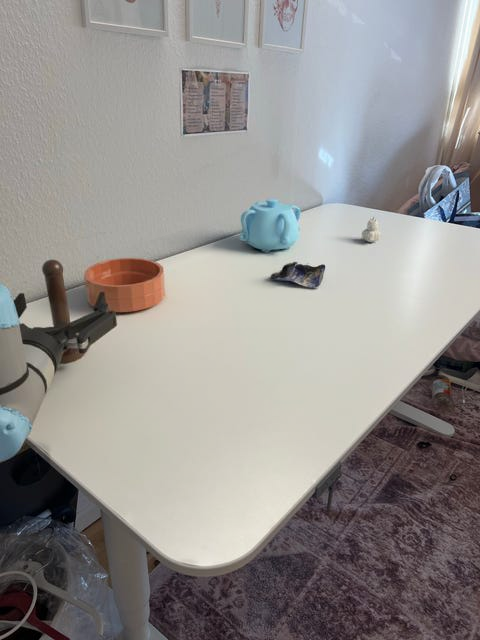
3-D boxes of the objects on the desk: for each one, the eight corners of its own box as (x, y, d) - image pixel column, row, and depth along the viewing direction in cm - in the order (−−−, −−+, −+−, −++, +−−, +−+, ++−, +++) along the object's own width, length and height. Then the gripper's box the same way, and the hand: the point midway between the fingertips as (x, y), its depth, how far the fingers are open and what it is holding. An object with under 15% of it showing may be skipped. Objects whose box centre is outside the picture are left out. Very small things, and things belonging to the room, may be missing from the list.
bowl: (75, 312, 99) (70, 283, 96) (104, 281, 114) (101, 255, 111) (153, 318, 98) (151, 289, 95) (172, 286, 112) (171, 260, 109)
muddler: (41, 361, 82) (21, 266, 74) (58, 343, 88) (41, 252, 80) (76, 364, 82) (61, 268, 74) (91, 346, 87) (78, 254, 79)
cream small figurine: (379, 240, 147) (383, 214, 144) (378, 246, 142) (382, 219, 138) (361, 238, 149) (365, 212, 145) (359, 244, 143) (363, 218, 140)
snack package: (285, 295, 110) (330, 287, 113) (284, 267, 108) (330, 260, 111) (265, 283, 120) (306, 277, 124) (264, 258, 118) (306, 252, 122)
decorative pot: (286, 259, 131) (289, 209, 124) (232, 249, 136) (234, 201, 130) (304, 242, 144) (308, 197, 138) (255, 234, 150) (257, 190, 143)
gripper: (-63, 391, 65) (-7, 320, 84) (122, 385, 68) (137, 317, 87) (-78, 344, 62) (-16, 280, 81) (117, 339, 64) (134, 278, 83)
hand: (63, 299), depth 84 cm, fingers open, 13 cm apart
